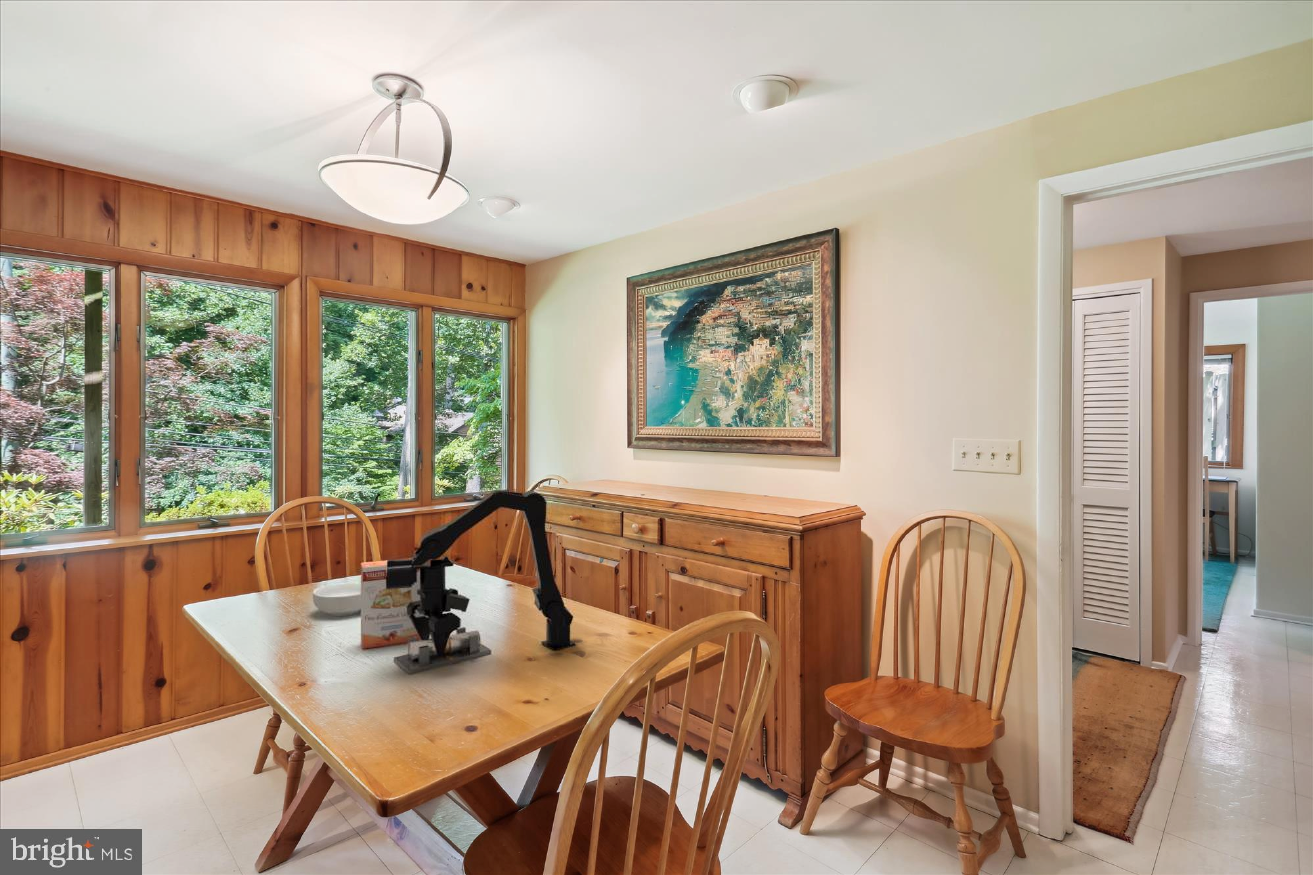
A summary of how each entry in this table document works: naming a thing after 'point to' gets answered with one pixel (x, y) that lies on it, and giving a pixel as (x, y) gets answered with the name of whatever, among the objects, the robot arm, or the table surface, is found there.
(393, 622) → the cracker box
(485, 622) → the table surface
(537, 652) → the table surface
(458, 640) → the tube
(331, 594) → the cereal bowl
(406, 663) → the stand
